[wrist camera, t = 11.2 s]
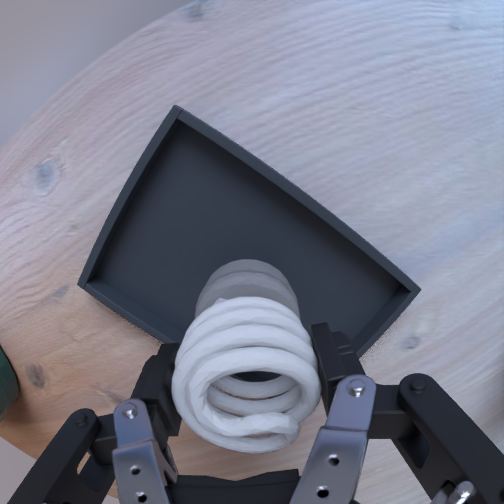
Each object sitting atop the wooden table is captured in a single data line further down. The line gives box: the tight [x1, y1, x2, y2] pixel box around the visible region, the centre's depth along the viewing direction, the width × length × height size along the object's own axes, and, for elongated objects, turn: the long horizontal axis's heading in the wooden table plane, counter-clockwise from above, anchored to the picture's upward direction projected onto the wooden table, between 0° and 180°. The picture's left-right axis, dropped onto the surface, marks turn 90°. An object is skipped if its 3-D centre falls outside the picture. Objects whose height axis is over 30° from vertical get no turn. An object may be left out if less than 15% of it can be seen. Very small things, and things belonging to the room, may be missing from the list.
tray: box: [77, 105, 421, 409], centre depth 20 cm, size 19×13×2 cm
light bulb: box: [172, 259, 322, 454], centre depth 14 cm, size 6×6×12 cm
